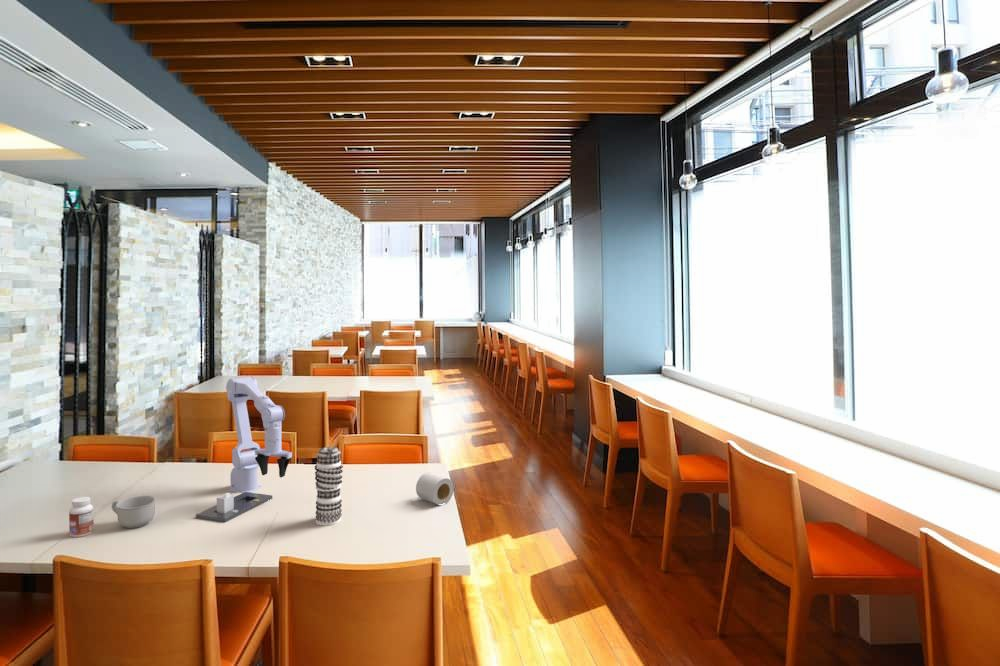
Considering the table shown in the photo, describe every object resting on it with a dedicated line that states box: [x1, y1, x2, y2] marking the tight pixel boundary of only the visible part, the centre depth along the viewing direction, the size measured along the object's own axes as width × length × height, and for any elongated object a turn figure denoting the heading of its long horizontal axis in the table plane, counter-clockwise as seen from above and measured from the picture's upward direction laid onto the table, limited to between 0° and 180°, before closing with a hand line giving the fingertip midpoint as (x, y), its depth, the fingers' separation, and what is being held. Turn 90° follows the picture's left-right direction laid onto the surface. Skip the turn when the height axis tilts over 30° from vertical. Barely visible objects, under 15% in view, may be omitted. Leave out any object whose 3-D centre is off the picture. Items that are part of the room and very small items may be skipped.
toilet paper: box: [415, 472, 454, 506], centre depth 215 cm, size 10×10×10 cm
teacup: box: [111, 494, 156, 529], centre depth 188 cm, size 14×11×8 cm
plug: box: [216, 492, 235, 514], centre depth 199 cm, size 3×4×7 cm
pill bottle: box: [68, 496, 95, 538], centre depth 180 cm, size 6×6×11 cm
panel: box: [195, 492, 273, 523], centre depth 204 cm, size 12×24×2 cm, turn 164°
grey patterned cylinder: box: [314, 446, 344, 526], centre depth 194 cm, size 9×9×25 cm
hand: (273, 475), depth 211 cm, fingers open, 7 cm apart
